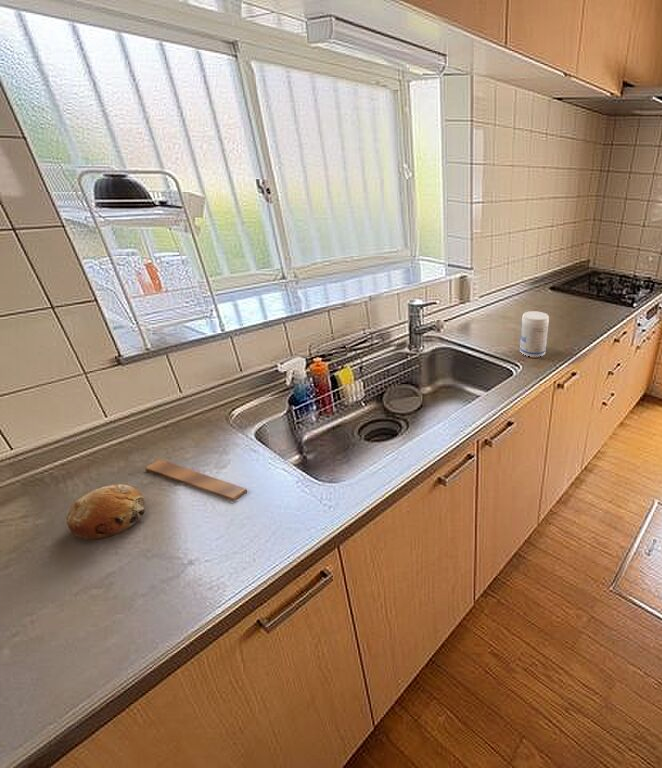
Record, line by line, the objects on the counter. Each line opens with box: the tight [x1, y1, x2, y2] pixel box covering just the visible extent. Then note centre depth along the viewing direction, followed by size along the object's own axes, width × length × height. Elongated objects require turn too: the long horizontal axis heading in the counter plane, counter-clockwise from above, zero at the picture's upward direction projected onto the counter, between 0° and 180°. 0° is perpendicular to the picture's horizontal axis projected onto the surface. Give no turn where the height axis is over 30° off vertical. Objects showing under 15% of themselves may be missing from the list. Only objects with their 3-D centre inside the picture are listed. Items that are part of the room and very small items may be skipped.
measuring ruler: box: [144, 459, 248, 502], centre depth 85 cm, size 24×3×1 cm, turn 71°
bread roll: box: [66, 483, 146, 540], centre depth 74 cm, size 10×10×8 cm
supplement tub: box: [519, 310, 550, 359], centre depth 150 cm, size 10×10×15 cm
